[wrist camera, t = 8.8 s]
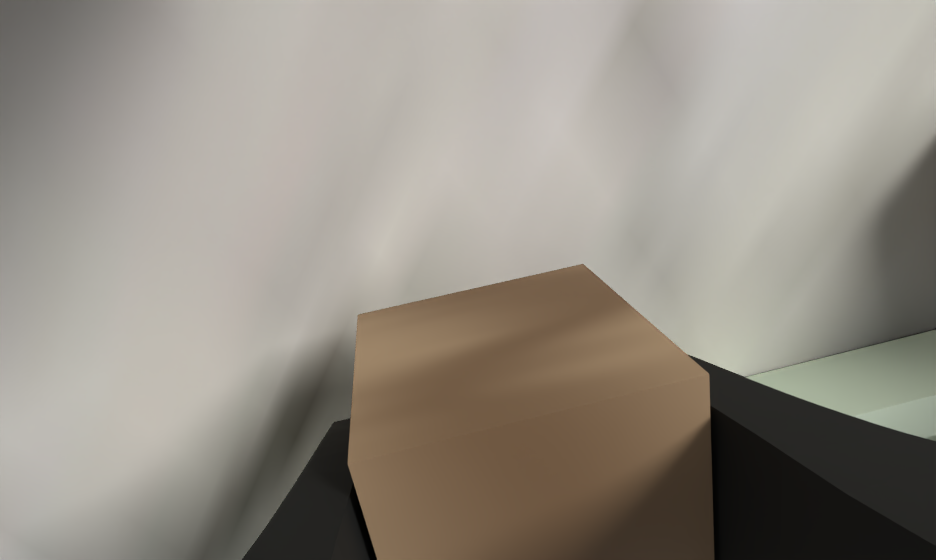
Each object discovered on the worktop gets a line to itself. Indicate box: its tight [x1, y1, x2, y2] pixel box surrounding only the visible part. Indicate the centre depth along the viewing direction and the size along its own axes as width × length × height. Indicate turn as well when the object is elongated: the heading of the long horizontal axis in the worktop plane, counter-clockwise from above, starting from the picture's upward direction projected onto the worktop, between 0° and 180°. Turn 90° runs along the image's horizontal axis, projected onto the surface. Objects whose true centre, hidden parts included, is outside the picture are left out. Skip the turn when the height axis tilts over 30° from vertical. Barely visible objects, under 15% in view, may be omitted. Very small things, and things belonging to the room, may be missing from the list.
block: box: [348, 264, 714, 560], centre depth 9 cm, size 4×4×4 cm
